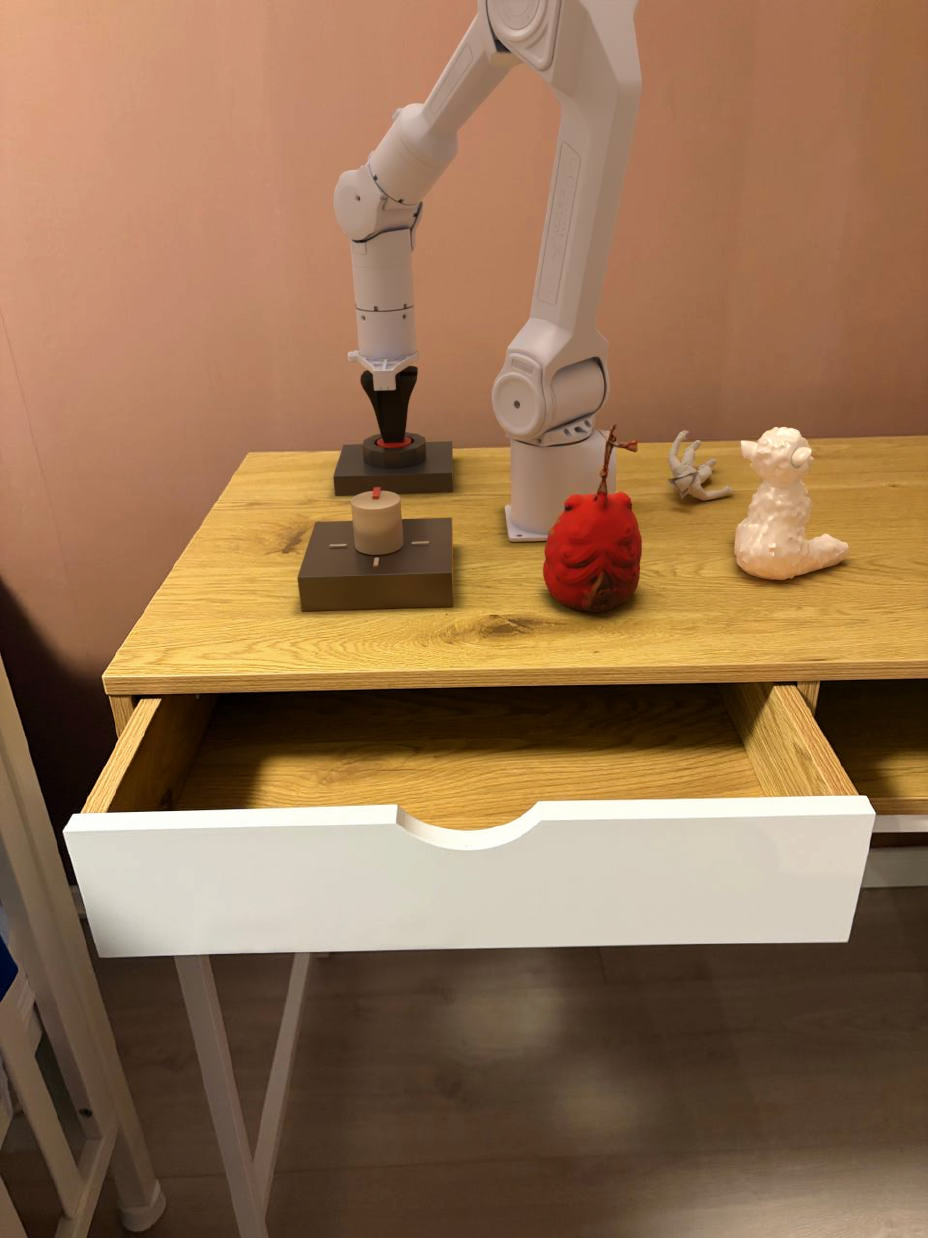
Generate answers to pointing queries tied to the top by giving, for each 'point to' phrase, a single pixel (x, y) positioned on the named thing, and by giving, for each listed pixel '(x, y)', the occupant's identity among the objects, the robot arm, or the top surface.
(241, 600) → the top surface
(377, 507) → the dial knob
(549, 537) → the red clay folk toy
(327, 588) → the dial panel
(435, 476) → the button box
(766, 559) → the sitting furry creature
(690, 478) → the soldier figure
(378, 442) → the button
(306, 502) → the top surface
